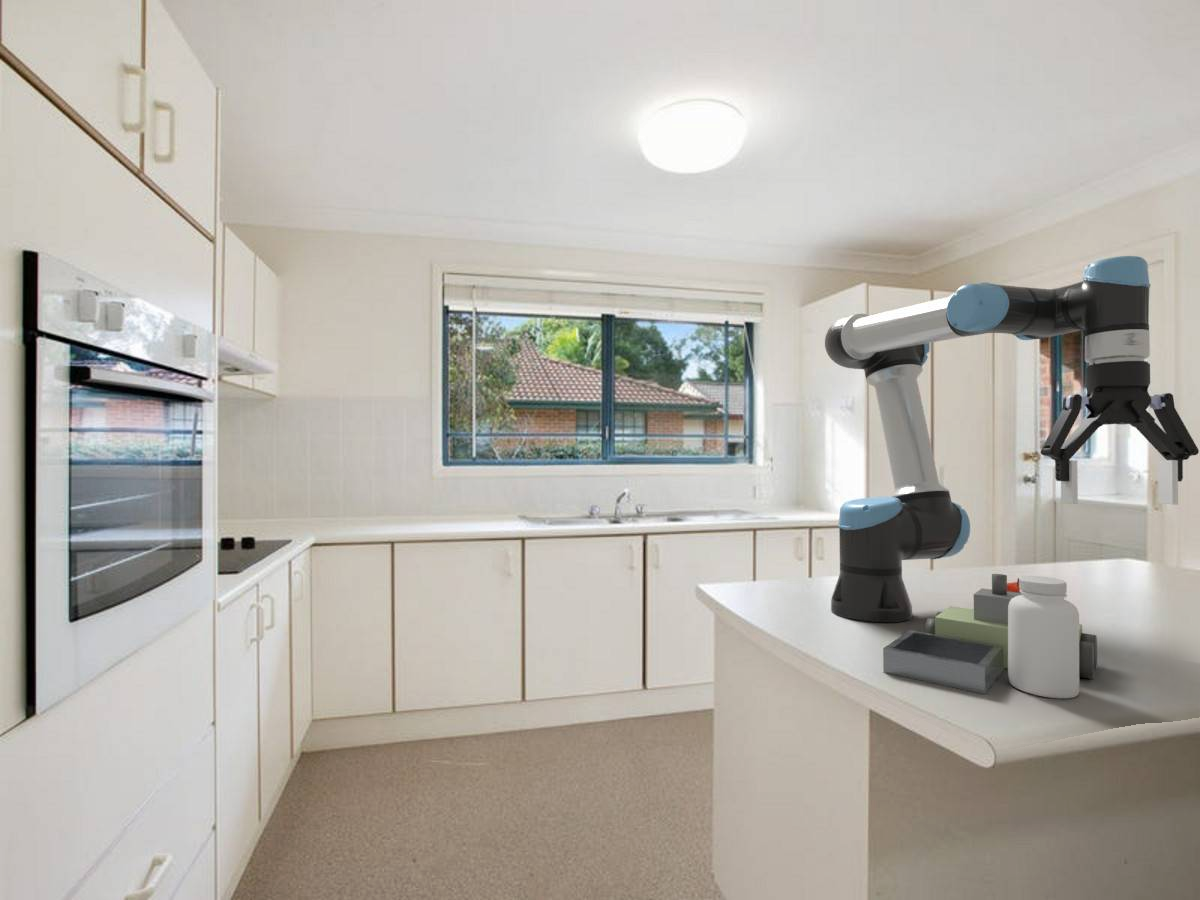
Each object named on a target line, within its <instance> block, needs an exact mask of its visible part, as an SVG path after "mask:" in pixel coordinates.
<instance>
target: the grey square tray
mask: <svg viewBox="0 0 1200 900" xmlns="http://www.w3.org/2000/svg"><path fill="white" fill-rule="evenodd" d="M882 654H883V655H882V657H883V658H882V662H883V664H882V665H883V667H882V669H883V671H882V672H883V673H887V674H891V675H895V676H899V677H905V678H910V679H914V680H918V681H923V682H927V683H931V684H935V685H941V686H946V687H950V688H955V689H960V690H965V691H969V692H973V693H978V694H982V695H986V694H987V692H988V691H989V690H990V689H991V687H992V685H994V683H995V682H996V680H997V679H998V678H999V676H1000V675H1001V674H1002V672H1003V671H1004V670H1005V669H1004V656H1003V646H1000V645H994V644H988V643H982V642H976V641H971V640H965V639H959V638H953V637H947V636H941V635H935V634H929V633H925V631H924V632H923V631H918V630H917V631H916V630H912V629H909V630H908V631H907V632H905V633H903V634H901V636H899V637H898V638H896V639H895V640H893V641H892V642H890V643H888V644H887V645H885V646H884V647H883V649H882Z"/></svg>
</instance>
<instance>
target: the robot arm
mask: <svg viewBox="0 0 1200 900" xmlns="http://www.w3.org/2000/svg"><path fill="white" fill-rule="evenodd" d="M1148 266H1149V265H1148V261H1147V260H1146V259H1144V258H1143V257H1142V256H1135V255H1121V256H1116V257H1115V256H1113V257H1108V258H1102V259H1100V260H1096V261H1093V262H1092V263H1091V264H1088V265H1087V266H1086V267H1085V268H1084V271H1083V272H1084V273H1083V276H1082V280H1083V281H1080V282H1076V283H1074V284H1071V285H1070V284H1069V285H1067V286H1061V287H1058V288H1052V289H1051V288H1050V289H1047V288H1036V287H1025V286H1014V285H1005V284H995V283H990V282H981V283H979V282H978V283H967V284H964V285H961V286H960V287H959V288H958V289H957V290H956V291H954V292H953V293H952V294H950V295H946V296H942V297H939V298H935V299H931V300H927V301H923V302H920V303H916V304H910V305H908V306H903V307H899V308H896V309H891V310H887V311H883V312H880V313H876V314H872V315H869V314H866V313H856V314H852V315H848V316H844V317H841V318H839V319H838V320H836V321H834V323H832V324H831V325H830V327H829V328H828V330H827V332H826V334H825V336H824V337H825V338H824V348H825V351H826V353H827V355H828V357H829V358H830V359H831V360H832V362H834V363H835V364H837V365H838V366H840V367H843V368H846V369H851V370H852V369H855V370H864V371H863V372H864V377H865V380H866V383H867V384H869V385H871V386H872V387H874V390H875V394H876V395H875V396H876V398H877V399H876V400H877V404H878V409H879V414H880V415H879V416H880V418H881V425H882V429H883V435H884V439H885V445H886V451H887V455H888V459H889V465H890V471H891V476H892V482H893V486H894V491H893V492H892V494H890V496H876V497H863V498H855V499H852V500H848V501H846V502H844V503H843V504H842V505H841V506H840V509H839V519H838V525H837V526H838V527H839V531H838V532H839V576H838V578H837V582H836V583H835V584H836V585H835V587H834V591H833V593H832V596H831V600H830V611H831V612H832V613H834V614H836V615H838V616H841V617H843V618H847V619H851V620H858V621H862V622H863V621H865V622H872V623H873V622H875V623H899V622H906V621H909V620H911V619H912V618H913V605H912V602H911V599H910V597H909V594H908V591H907V587H906V586H905V583H904V579H903V568H902V567H903V561H910V560H911V561H912V560H939V559H943V558H950V557H953V556H955V555H957V554H959V553H960V552H961V551H962V550H963V549H964V547H965V545H966V544H968V541H969V538H970V534H971V522H970V517H969V516H968V513H967V511H966V510H965V509H963V508H962V506H961V505H960V504H958V503H956V502H954V501H952V498H951V493H950V490H949V489H948V488H946V487H945V486H943V485H942V484H940V481H939V476H938V471H937V467H936V466H937V465H936V462H935V458H934V453H933V449H932V444H931V439H930V434H929V430H928V429H929V428H928V424H927V421H926V415H925V412H924V411H925V410H924V406H923V402H922V397H921V392H920V387H919V383H918V378H919V377H920V375H921V374H922V372H923V366H924V365H925V363H926V361H927V359H928V358H929V357H928V354H929V353H930V345H931V344H930V343H936V342H941V341H947V340H953V339H958V338H964V337H973V336H978V335H979V336H980V335H984V334H1008V335H1009V334H1011V335H1013V336H1015V337H1016V338H1017V339H1019V340H1021V341H1032V340H1046V339H1048V338H1051V337H1055V336H1060V335H1066V334H1070V333H1075V332H1079V331H1084V362H1085V363H1087V364H1089V365H1087V366H1086V368H1085V369H1084V370H1085V371H1084V372H1085V373H1084V374H1085V376H1084V377H1085V378H1084V380H1085V383H1084V384H1085V385H1084V387H1085V389H1086V395H1085V396H1082V395H1081V394H1078V393H1077V394H1071V395H1065V396H1064V397H1063V400H1062V407H1061V408H1062V410H1061V411H1060V414H1059V416H1058V417H1057V419H1056V420H1055V423H1054V424H1053V426H1052V429H1051V431H1050V433H1049V434H1048V436H1047V438H1046V440H1045V442H1044V444H1043V446H1042V448H1041V449H1040V454H1041V455H1042V456H1044V457H1045V456H1046V457H1049V458H1050V459H1051V460H1054V467H1055V468H1054V470H1055V471H1054V472H1055V478H1054V479H1055V480H1056V481H1057V482H1060V503H1062V504H1071V505H1078V503H1079V500H1078V499H1079V498H1078V497H1079V496H1078V494H1079V493H1078V490H1079V489H1078V484H1079V483H1078V481H1079V480H1078V460H1075V459H1074V460H1072V457H1074V455H1076V454H1077V452H1078V451H1079V450H1080V449H1081V448H1082V447H1083V445H1084V444H1085V443H1086V442H1087V441H1088V440H1089V439H1090V438H1091V437H1092V436H1093V435H1094V434H1095V432H1096V431H1097V430H1098V429H1099V428H1100V427H1102V426H1103V425H1130V426H1131V427H1134V428H1136V430H1137V431H1138V432H1139V433H1140V434H1141V435H1142V436H1143V438H1145V439H1146V440H1147V441H1148V442H1149V443H1150V445H1151V446H1152V447H1153V448H1154V449H1155V450H1156V451H1157V452H1158V453H1159V454H1160V455H1161V456H1162V458H1163V459H1158V460H1157V503H1158V504H1163V505H1164V504H1165V505H1179V482H1182V481H1183V479H1184V475H1183V474H1184V472H1183V471H1184V469H1183V463H1184V460H1185V461H1186V460H1188V459H1189V458H1190V457H1191V456H1192V457H1193V456H1197V455H1198V454H1199V452H1200V451H1199V448H1198V446H1197V445H1196V443H1195V441H1194V439H1193V438H1192V436H1191V433H1190V432H1189V431H1188V429H1187V427H1186V424H1185V423H1184V422H1183V420H1182V418H1181V416H1180V414H1179V413H1178V411H1177V409H1176V408H1175V407H1176V406H1175V401H1174V399H1175V398H1174V395H1173V394H1172V393H1171V392H1166V393H1159V394H1154V395H1150V393H1149V391H1148V390H1149V386H1151V385H1150V384H1151V363H1149V362H1148V361H1146V360H1145V359H1148V358H1149V357H1150V356H1151V353H1150V351H1151V350H1150V347H1151V346H1150V342H1151V341H1150V324H1149V322H1150V320H1149V317H1150V315H1149V314H1150V311H1149V310H1150V309H1149V308H1150V288H1151V283H1150V278H1149V268H1148ZM1084 407H1086V409H1087V410H1088V411H1089V412H1088V413H1087V414H1086V415H1085V417H1083V418H1082V420H1081V423H1080V424H1079V426H1077V428H1076V429H1075V430H1074V431H1073V432H1072V433H1071V430H1072V428H1073V427H1074V424H1075V423H1076V420H1077V419H1078V417H1079V414H1080V413H1081V410H1082V409H1084ZM1148 408H1151V409H1152V410H1153V412H1154V415H1155V416H1156V419H1157V420H1158V422H1159V423H1160V425H1161V427H1162V428H1161V427H1160V425H1158V424H1157V423H1156V422H1155V421H1156V419H1155V418H1154V417H1153V416H1152V414H1151V413H1150V412H1148V410H1147V409H1148ZM1070 433H1071V434H1070ZM1069 434H1070V435H1069ZM1068 435H1069V436H1068Z"/></svg>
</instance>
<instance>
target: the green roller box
mask: <svg viewBox="0 0 1200 900" xmlns="http://www.w3.org/2000/svg"><path fill="white" fill-rule="evenodd" d="M1007 583H1008V575H1006V574H1003V573H992V574H991V589H989V588H981V589H979V590H978V591H976V592H974V593H973V609H972V608H968V607H967V608H966V607H959V606H953V605H950V606H948V608H946V609H944V610H943V611H937V612H936V613H935V615H934V618H933V617H928V618H927V620H926V622H925V625H924V626H925V627H924V633H929V634H935V635H941V636H947V637H953V638H959V639H965V640H971V641H976V642H982V643H988V644H994V645H1000V646H1003V656H1004V668H1005V669H1008V605H1009V602H1010V600H1011V599H1012V598H1014V597H1016V596H1019V595H1022V593H1017V592H1008V591H1007ZM1097 665H1098V637H1097V635H1096V634H1092V633H1086V632H1085V633H1084V632H1083V624H1080V623H1079V678H1084V679H1089V680H1094V674H1095V670H1097Z"/></svg>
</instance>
